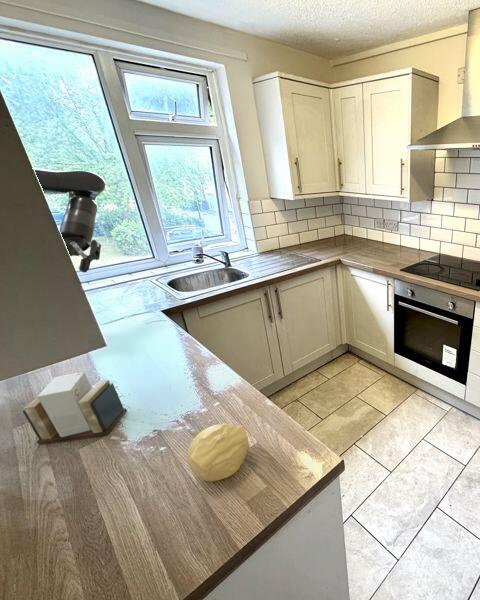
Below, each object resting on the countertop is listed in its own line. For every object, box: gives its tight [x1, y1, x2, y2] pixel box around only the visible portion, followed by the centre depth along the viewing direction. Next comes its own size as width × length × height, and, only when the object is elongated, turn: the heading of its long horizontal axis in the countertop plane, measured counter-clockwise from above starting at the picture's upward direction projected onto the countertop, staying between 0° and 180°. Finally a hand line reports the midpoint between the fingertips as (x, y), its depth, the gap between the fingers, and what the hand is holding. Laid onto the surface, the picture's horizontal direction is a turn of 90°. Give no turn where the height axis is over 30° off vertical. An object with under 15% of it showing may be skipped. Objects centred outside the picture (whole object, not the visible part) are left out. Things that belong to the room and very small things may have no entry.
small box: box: [37, 371, 93, 437], centre depth 83 cm, size 8×6×13 cm
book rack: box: [22, 379, 128, 445], centre depth 84 cm, size 15×9×11 cm, turn 101°
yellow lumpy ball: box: [187, 423, 250, 482], centre depth 73 cm, size 11×12×11 cm
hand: (66, 272), depth 100 cm, fingers open, 8 cm apart
